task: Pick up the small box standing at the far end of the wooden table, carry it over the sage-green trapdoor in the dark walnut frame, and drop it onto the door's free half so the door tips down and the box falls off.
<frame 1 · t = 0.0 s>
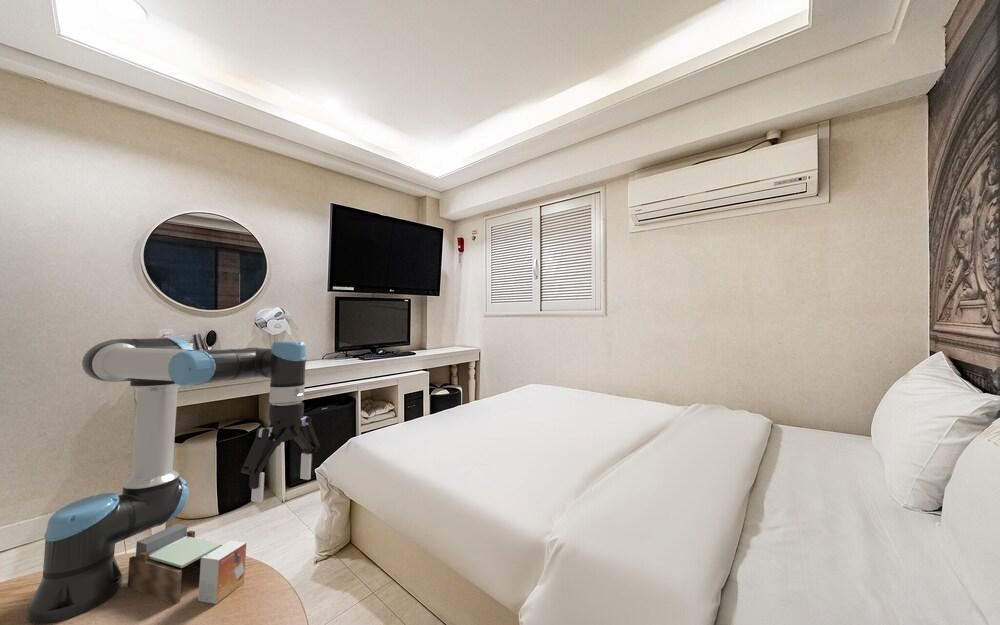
hand: (283, 489, 88), 28 cm above the table, tool pointing down, fingers open, 13 cm apart
small box: (222, 592, 92), on the table
trapdoor: (179, 549, 96), point 8 cm above the table, hinge at 0.0°
trapdoor frame: (177, 580, 96), on the table
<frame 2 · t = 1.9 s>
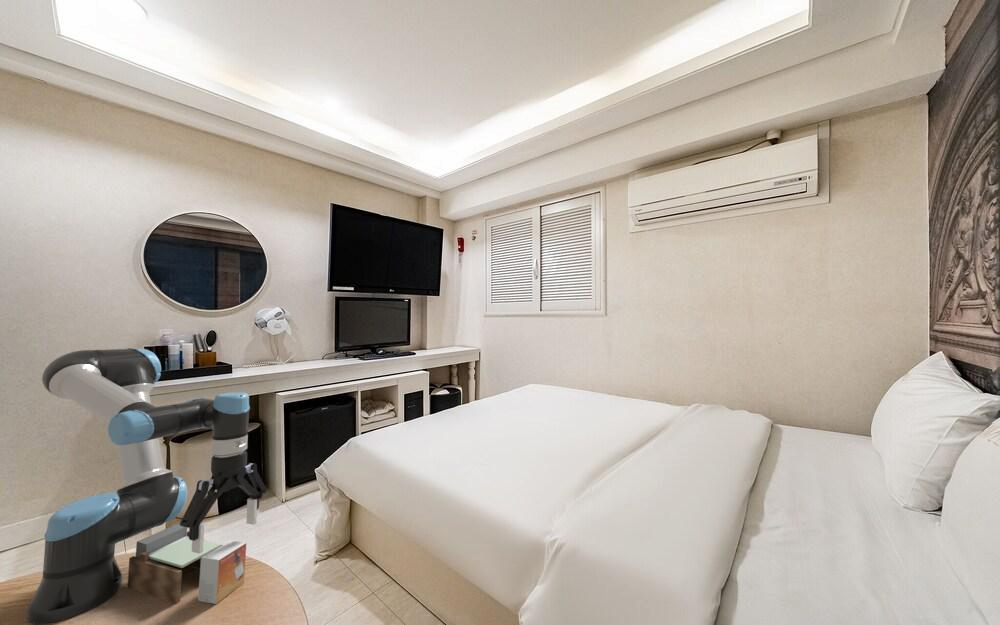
hand: (226, 536, 93), 14 cm above the table, tool pointing down, fingers open, 13 cm apart
nothing on the table moved.
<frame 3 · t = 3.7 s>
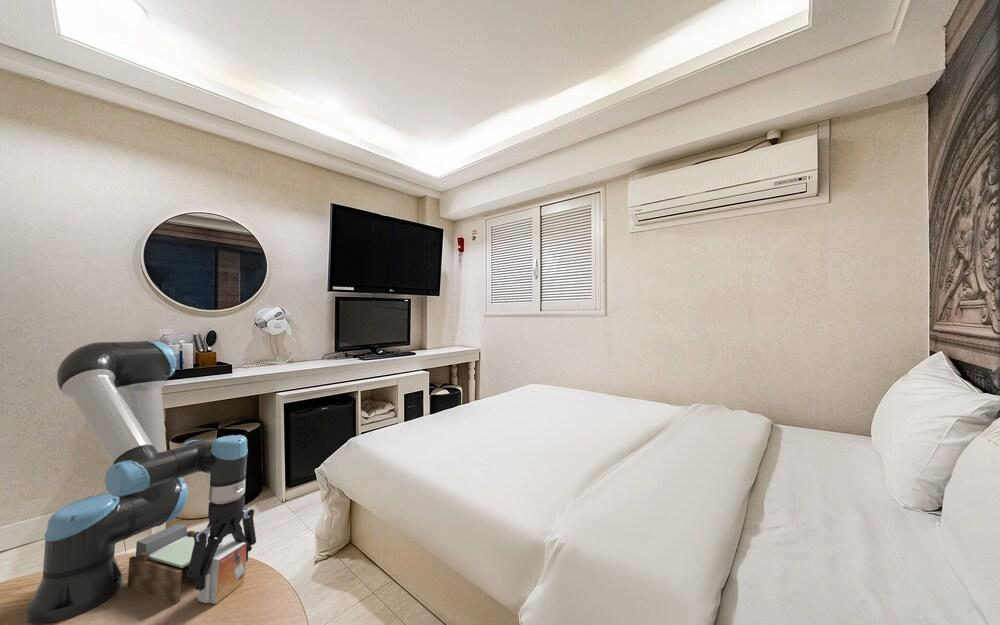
hand: (222, 588, 92), 1 cm above the table, tool pointing down, fingers closed on small box, 8 cm apart
small box: (222, 592, 92), on the table, touching gripper
everything else where it was.
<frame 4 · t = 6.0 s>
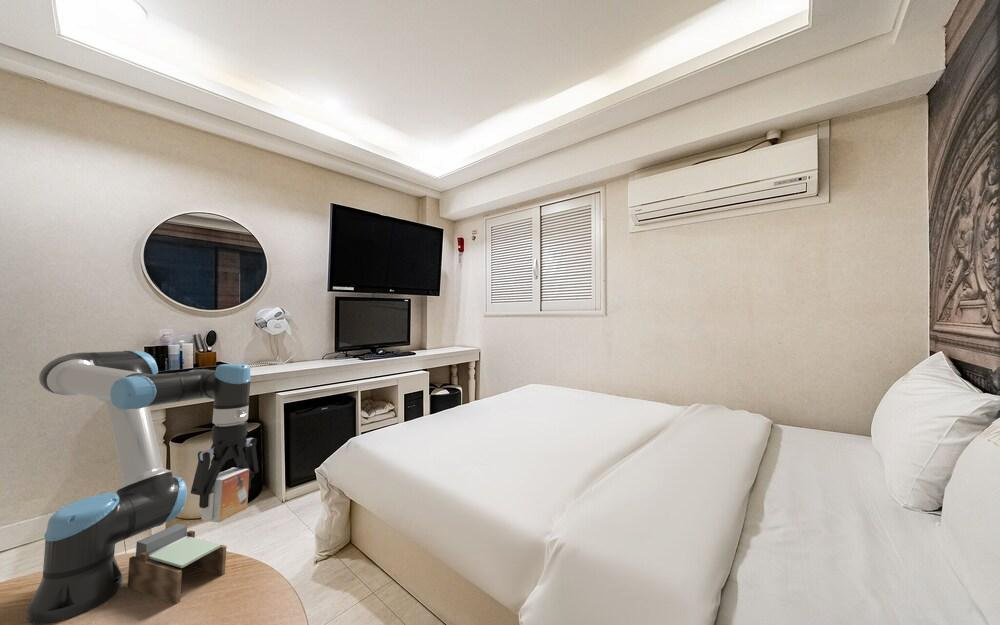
hand: (225, 510, 93), 20 cm above the table, tool pointing down, fingers closed on small box, 8 cm apart
small box: (225, 515, 93), point 19 cm above the table, touching gripper
everything else where it was.
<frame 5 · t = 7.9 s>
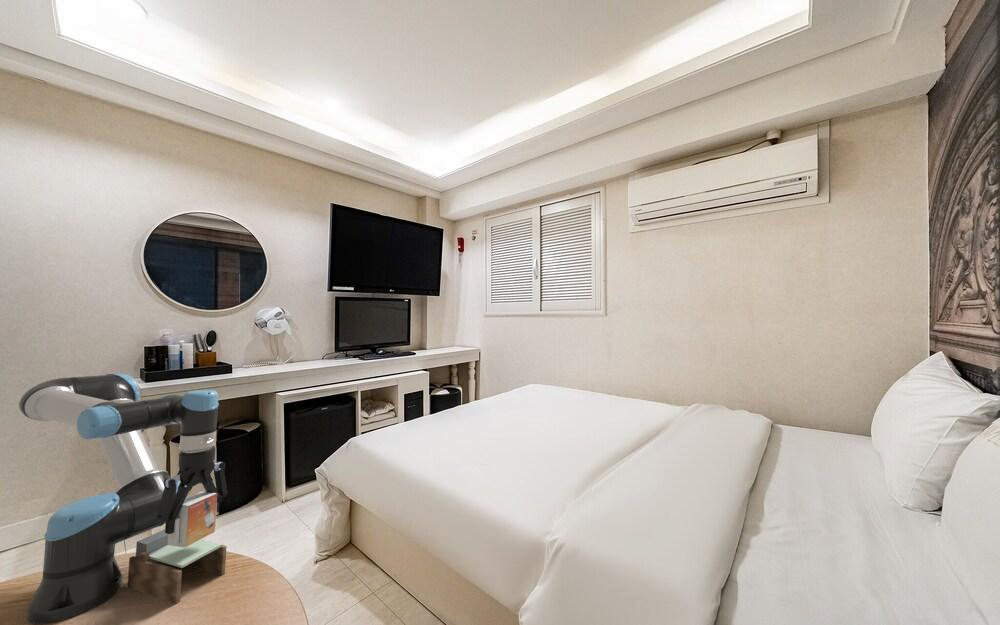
hand: (192, 535, 95), 13 cm above the table, tool pointing down, fingers closed on small box, 8 cm apart
small box: (192, 539, 95), point 11 cm above the table, touching gripper
everything else where it was.
when the fingers open (12 cm above the table, at t = 8.8 s): small box drops 7 cm, resting on trapdoor.
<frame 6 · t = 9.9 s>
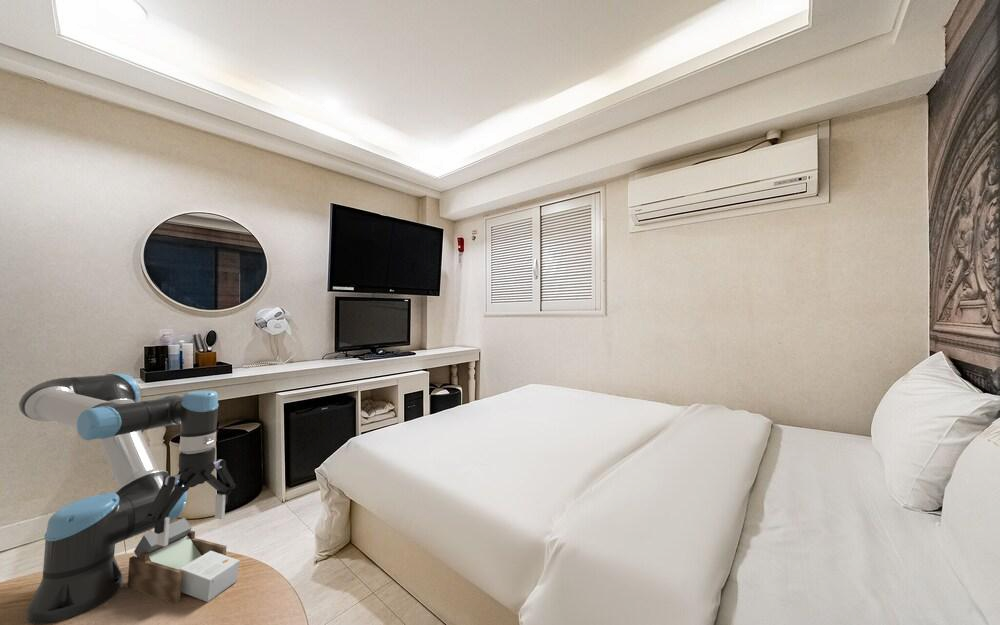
hand: (192, 530, 95), 14 cm above the table, tool pointing down, fingers open, 13 cm apart
small box: (193, 568, 95), point 4 cm above the table, touching trapdoor
trapdoor: (176, 558, 96), point 5 cm above the table, hinge at -36.3°, touching small box
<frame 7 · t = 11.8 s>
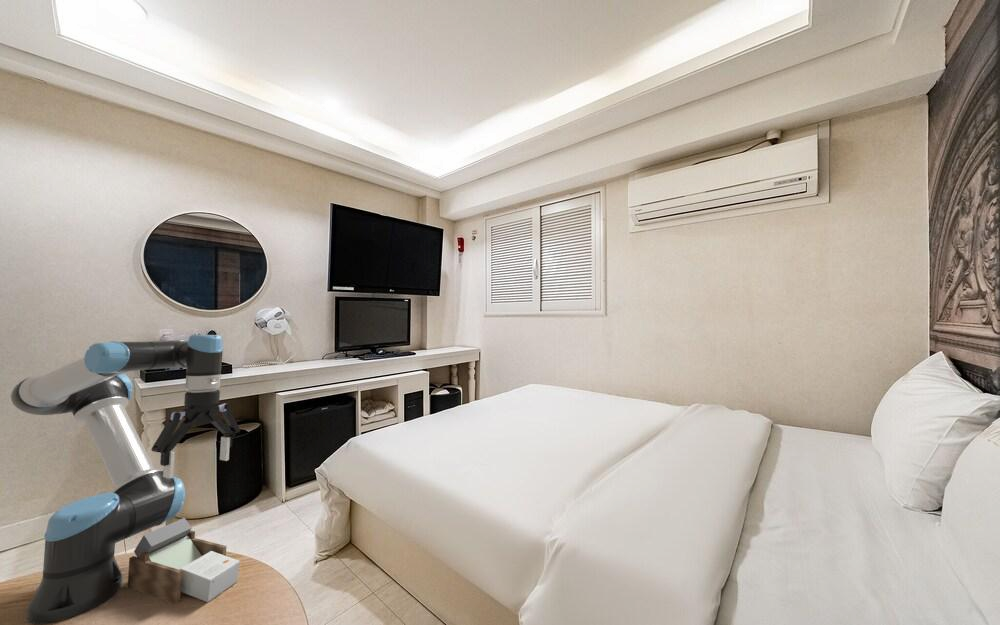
hand: (197, 468, 98), 29 cm above the table, tool pointing down, fingers open, 13 cm apart
nothing on the table moved.
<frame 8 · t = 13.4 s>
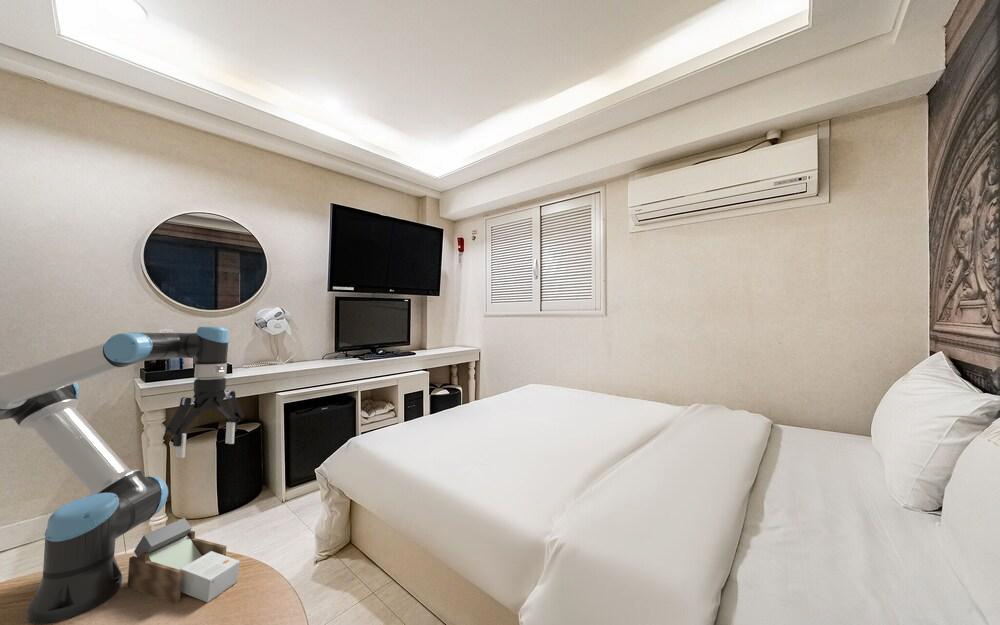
hand: (206, 450, 106), 32 cm above the table, tool pointing down, fingers open, 13 cm apart
nothing on the table moved.
at the end: small box point 3.8 cm above the table; small box moved 10.7 cm from its start; the gripper is holding nothing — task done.
